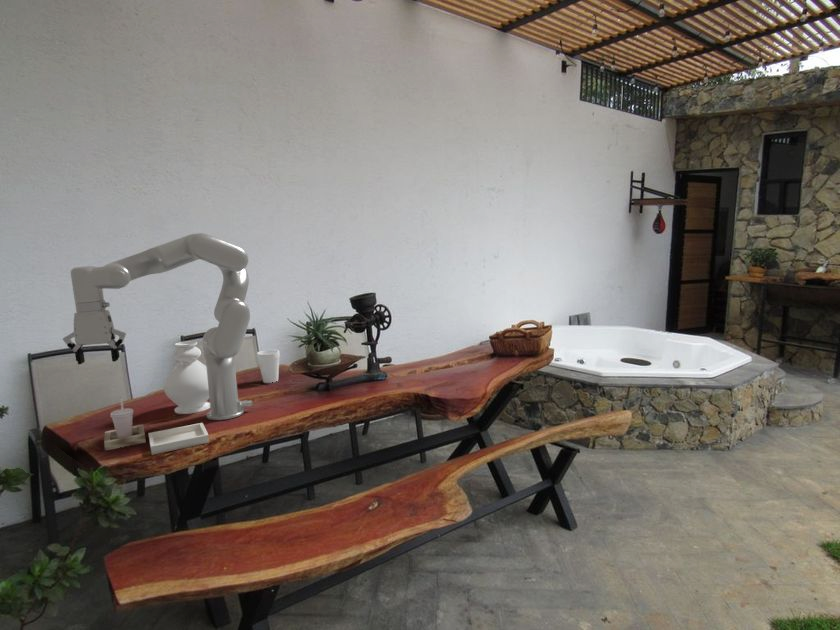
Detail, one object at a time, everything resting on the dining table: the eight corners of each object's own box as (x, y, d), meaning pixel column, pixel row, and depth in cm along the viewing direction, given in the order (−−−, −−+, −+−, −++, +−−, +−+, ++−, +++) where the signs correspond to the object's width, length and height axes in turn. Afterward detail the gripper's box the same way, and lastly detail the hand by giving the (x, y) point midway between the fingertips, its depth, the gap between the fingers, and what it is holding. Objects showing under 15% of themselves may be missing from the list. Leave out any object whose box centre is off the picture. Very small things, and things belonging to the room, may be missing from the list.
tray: (203, 429, 174) (202, 422, 173) (209, 442, 162) (208, 434, 162) (149, 440, 166) (148, 433, 165) (151, 454, 155) (150, 446, 154)
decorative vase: (161, 408, 197) (153, 343, 194) (209, 397, 209) (203, 336, 205) (174, 420, 184) (166, 350, 180) (225, 408, 195) (219, 342, 191)
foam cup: (277, 376, 237) (275, 348, 235) (284, 381, 229) (282, 352, 227) (256, 380, 231) (253, 352, 229) (263, 385, 224) (261, 355, 222)
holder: (144, 431, 174) (143, 424, 173) (145, 442, 164) (144, 434, 164) (105, 439, 168) (104, 431, 168) (105, 450, 159) (104, 442, 159)
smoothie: (140, 436, 170) (135, 394, 167) (130, 444, 163) (125, 401, 161) (120, 437, 169) (115, 395, 167) (109, 445, 163) (104, 401, 161)
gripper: (125, 303, 165) (132, 356, 167) (65, 307, 162) (73, 361, 164) (116, 307, 157) (124, 362, 160) (53, 311, 154) (62, 367, 157)
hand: (98, 361), depth 162 cm, fingers open, 9 cm apart
